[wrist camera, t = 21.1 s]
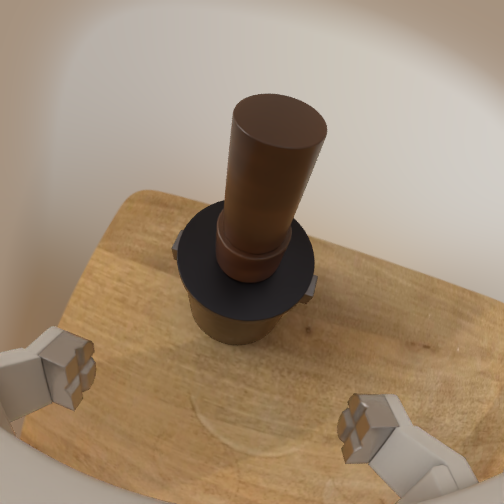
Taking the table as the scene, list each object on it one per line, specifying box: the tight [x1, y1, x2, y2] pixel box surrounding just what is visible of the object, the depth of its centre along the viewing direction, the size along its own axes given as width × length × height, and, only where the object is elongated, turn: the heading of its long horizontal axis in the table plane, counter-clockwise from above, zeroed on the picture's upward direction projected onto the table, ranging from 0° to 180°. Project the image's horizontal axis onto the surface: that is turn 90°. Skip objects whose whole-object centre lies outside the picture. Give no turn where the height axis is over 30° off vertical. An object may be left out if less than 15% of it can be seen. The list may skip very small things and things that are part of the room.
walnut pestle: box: [216, 94, 327, 283], centre depth 14 cm, size 4×4×10 cm
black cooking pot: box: [172, 200, 318, 345], centre depth 22 cm, size 10×9×9 cm
